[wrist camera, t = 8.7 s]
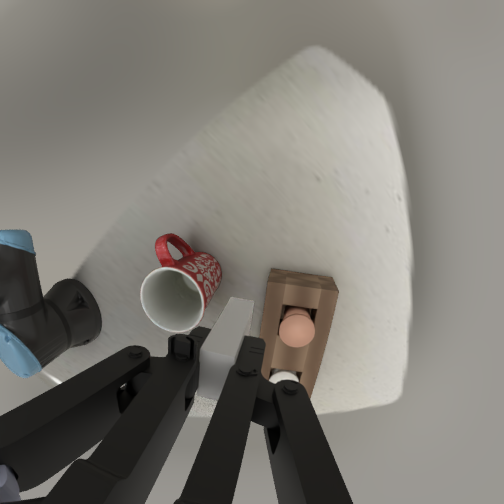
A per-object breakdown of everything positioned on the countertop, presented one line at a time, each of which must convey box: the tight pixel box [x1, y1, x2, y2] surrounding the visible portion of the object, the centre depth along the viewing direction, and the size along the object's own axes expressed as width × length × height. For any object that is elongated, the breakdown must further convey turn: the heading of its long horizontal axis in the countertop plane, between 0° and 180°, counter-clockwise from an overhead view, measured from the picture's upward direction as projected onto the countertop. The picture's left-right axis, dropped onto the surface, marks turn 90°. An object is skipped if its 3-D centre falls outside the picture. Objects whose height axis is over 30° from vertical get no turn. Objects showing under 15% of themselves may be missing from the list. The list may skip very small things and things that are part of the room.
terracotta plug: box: [279, 305, 315, 347], centre depth 40 cm, size 5×5×7 cm
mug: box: [140, 233, 222, 333], centre depth 41 cm, size 13×9×14 cm
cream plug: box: [269, 368, 299, 384], centre depth 44 cm, size 5×5×7 cm
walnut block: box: [259, 268, 339, 398], centre depth 44 cm, size 10×22×7 cm, turn 173°
